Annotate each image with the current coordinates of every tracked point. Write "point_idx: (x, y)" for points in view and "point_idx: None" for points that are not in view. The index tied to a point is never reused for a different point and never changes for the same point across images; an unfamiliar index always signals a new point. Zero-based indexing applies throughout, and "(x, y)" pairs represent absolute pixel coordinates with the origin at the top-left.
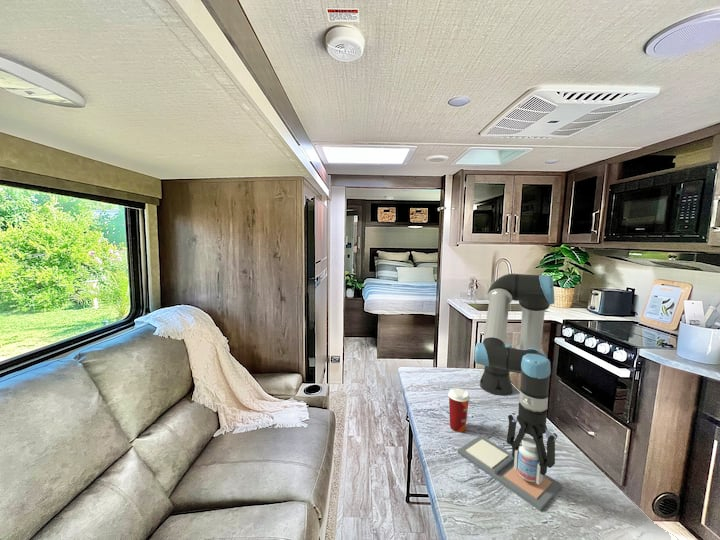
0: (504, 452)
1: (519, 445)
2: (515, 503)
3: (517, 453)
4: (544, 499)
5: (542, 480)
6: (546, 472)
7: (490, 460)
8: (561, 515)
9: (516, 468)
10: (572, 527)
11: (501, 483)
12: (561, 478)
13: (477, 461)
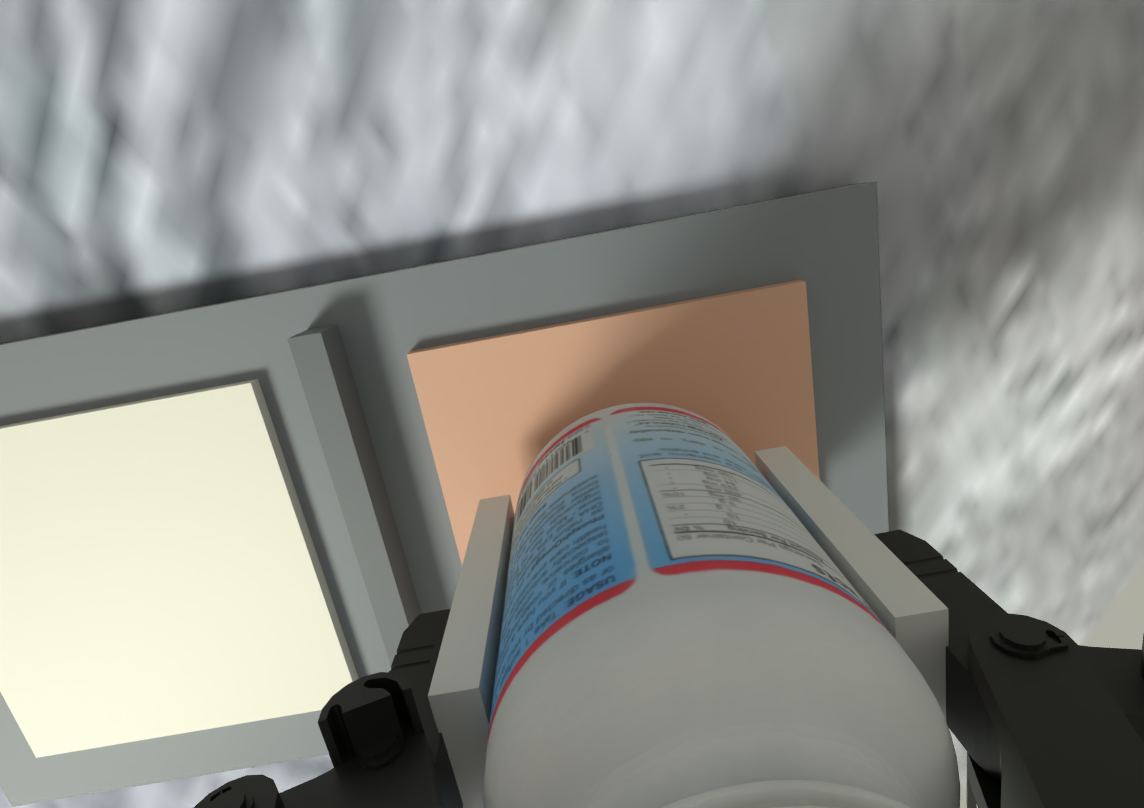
0: (185, 365)
1: (418, 720)
2: None
3: None
4: None
5: (786, 450)
6: (929, 551)
7: (263, 643)
8: (1002, 520)
9: None
10: (1105, 544)
11: None
12: (783, 26)
13: (226, 743)
